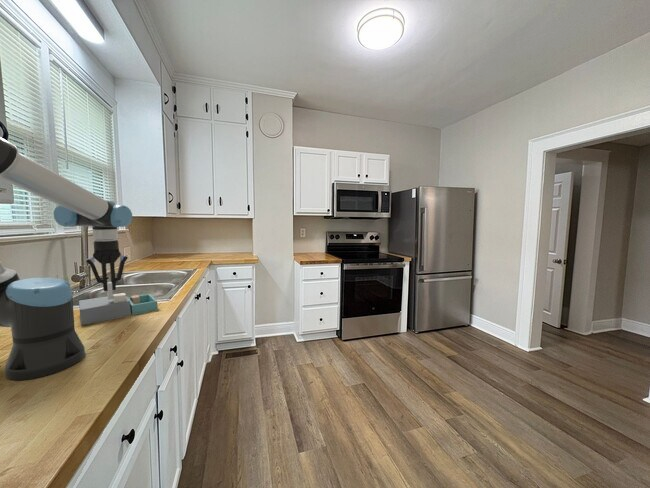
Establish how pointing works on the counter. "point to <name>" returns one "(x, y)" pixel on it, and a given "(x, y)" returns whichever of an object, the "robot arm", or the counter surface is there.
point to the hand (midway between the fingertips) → (110, 298)
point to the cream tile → (119, 297)
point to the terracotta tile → (135, 299)
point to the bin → (143, 304)
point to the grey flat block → (102, 310)
